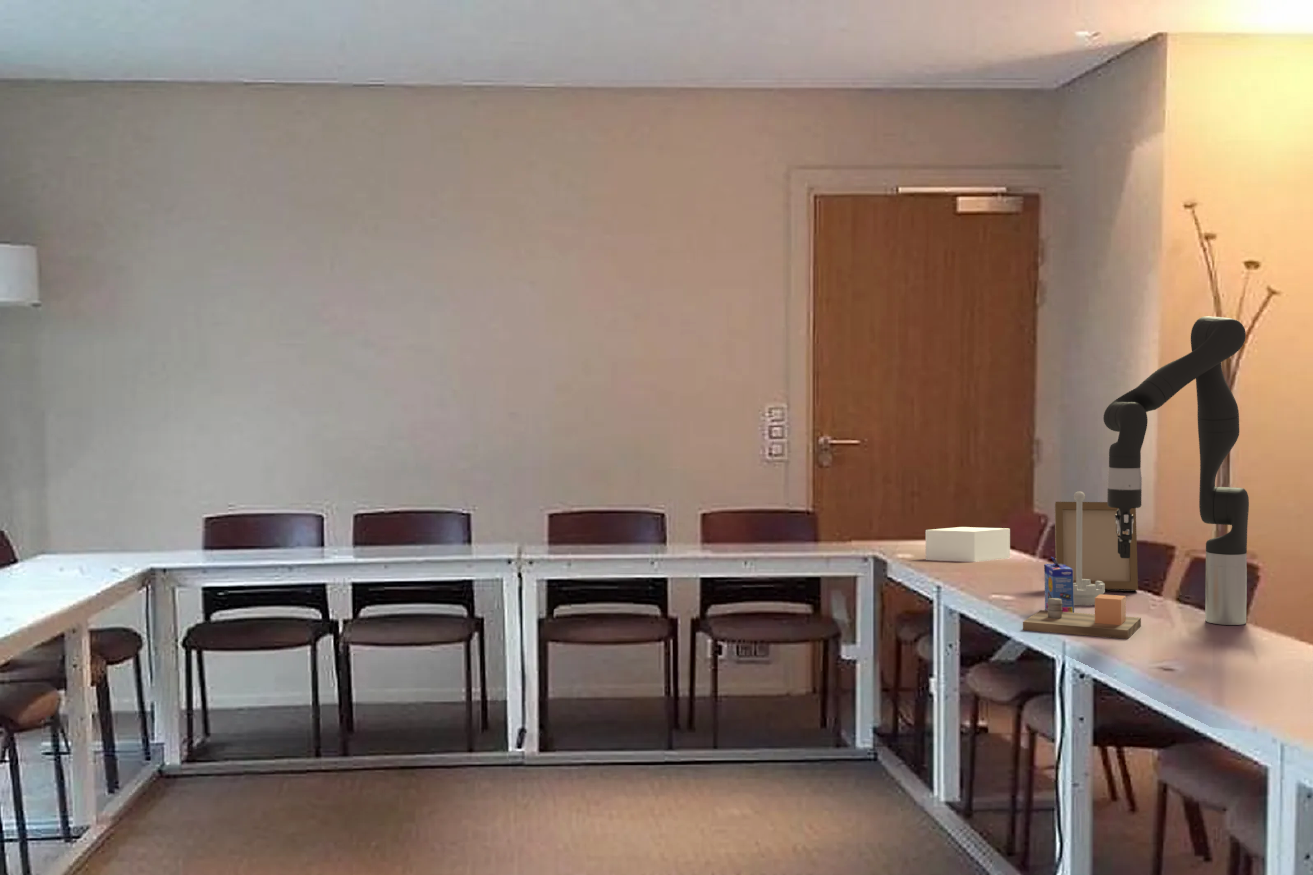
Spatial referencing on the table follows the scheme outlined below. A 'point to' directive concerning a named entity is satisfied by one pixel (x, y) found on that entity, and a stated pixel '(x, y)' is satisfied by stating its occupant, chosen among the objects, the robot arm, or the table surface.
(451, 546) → the table surface
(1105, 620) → the orange cube
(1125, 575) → the photo frame
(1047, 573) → the ink cartridge box
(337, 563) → the table surface
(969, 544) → the white rectangular box
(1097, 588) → the flag stand
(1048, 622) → the base plate
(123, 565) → the table surface
